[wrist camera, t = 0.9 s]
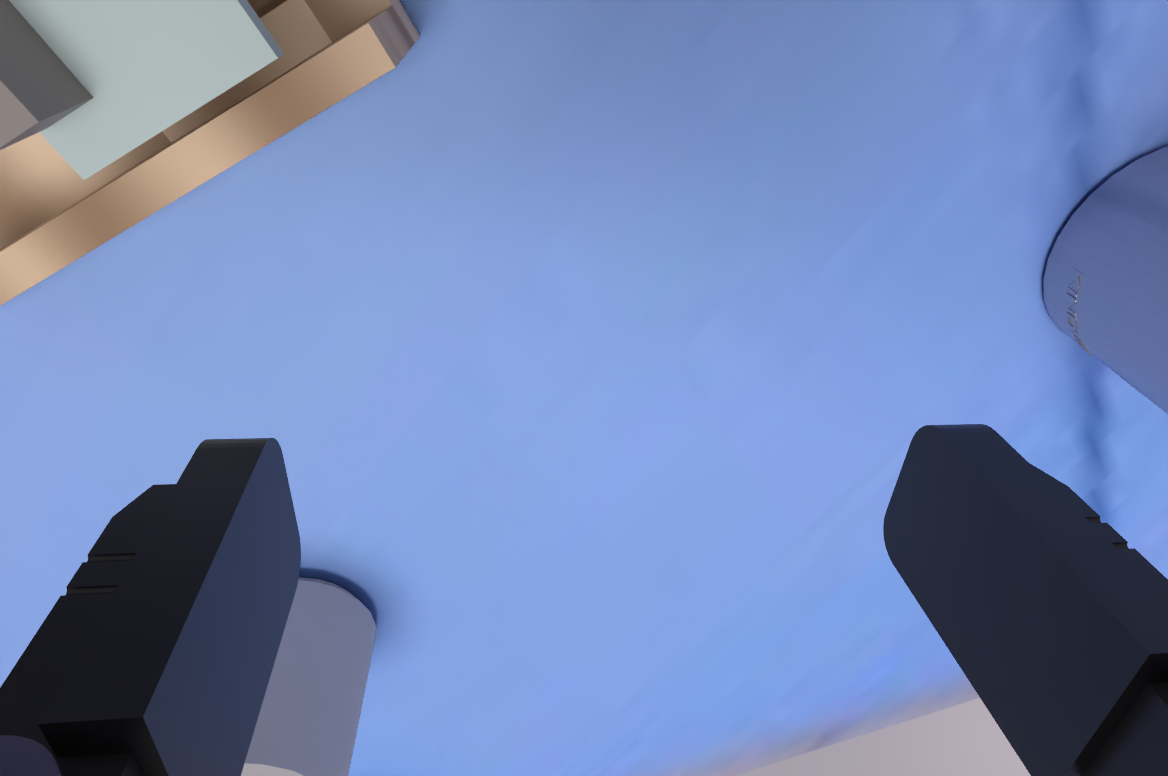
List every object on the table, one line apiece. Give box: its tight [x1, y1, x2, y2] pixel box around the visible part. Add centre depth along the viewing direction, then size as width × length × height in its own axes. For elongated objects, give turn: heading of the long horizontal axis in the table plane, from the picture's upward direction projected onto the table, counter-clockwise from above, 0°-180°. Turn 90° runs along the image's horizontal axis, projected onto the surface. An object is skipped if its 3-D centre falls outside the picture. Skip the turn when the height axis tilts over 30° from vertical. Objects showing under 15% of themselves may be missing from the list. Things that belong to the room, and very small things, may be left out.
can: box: [241, 577, 376, 776], centre depth 34 cm, size 8×8×12 cm
